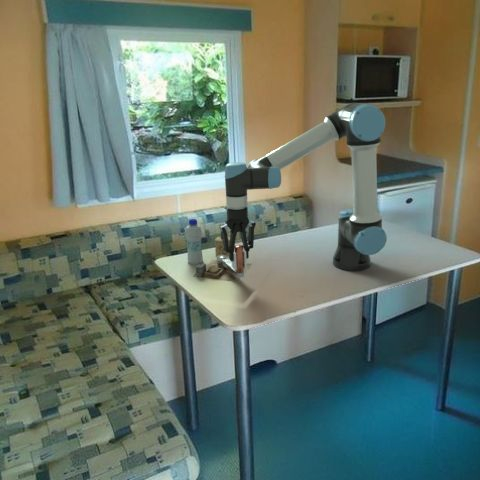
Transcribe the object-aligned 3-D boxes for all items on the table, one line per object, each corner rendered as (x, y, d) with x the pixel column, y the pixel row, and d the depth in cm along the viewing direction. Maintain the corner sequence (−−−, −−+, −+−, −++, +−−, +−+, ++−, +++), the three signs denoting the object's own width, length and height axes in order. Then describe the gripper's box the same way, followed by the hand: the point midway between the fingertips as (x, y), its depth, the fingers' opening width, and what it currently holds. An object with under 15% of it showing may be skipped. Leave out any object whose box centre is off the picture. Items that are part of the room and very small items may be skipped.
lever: (215, 260, 198) (214, 232, 194) (226, 259, 200) (225, 230, 196) (235, 279, 180) (234, 248, 176) (247, 277, 181) (246, 246, 177)
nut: (220, 272, 192) (220, 263, 191) (216, 276, 189) (216, 266, 188) (211, 271, 194) (210, 262, 192) (207, 275, 190) (206, 265, 189)
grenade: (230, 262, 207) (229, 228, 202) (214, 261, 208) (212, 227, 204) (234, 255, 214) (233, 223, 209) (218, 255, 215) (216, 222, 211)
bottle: (206, 262, 207) (203, 217, 200) (198, 268, 201) (195, 222, 195) (192, 260, 210) (189, 216, 203) (184, 266, 204) (181, 220, 197)
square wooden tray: (252, 267, 201) (252, 254, 199) (235, 285, 184) (235, 272, 182) (212, 262, 207) (211, 250, 205) (192, 279, 190) (192, 266, 188)
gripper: (254, 201, 179) (255, 260, 187) (211, 207, 174) (215, 268, 181) (262, 206, 173) (263, 267, 180) (218, 212, 167) (222, 275, 175)
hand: (239, 267), depth 181 cm, fingers closed on lever, 3 cm apart
